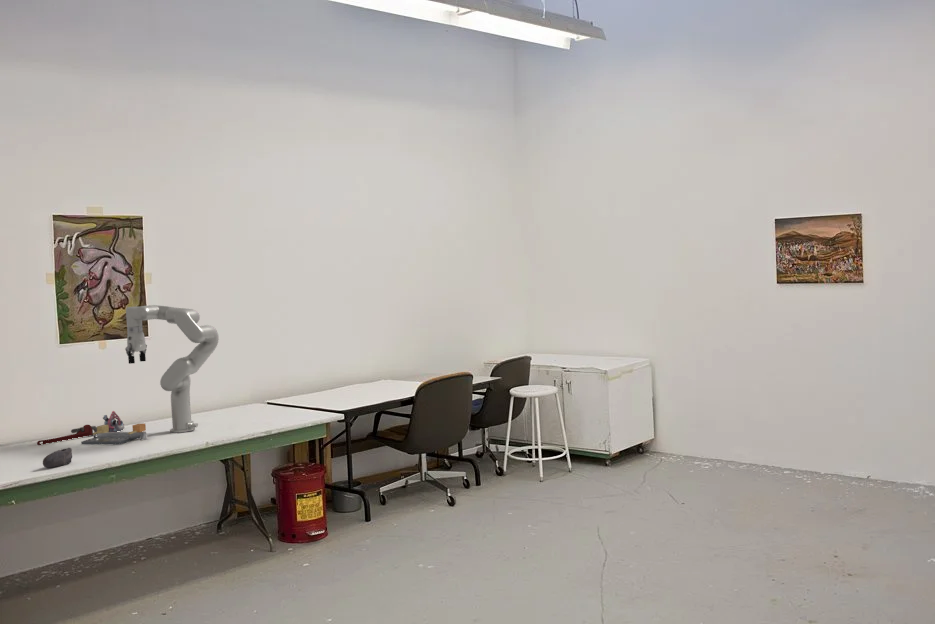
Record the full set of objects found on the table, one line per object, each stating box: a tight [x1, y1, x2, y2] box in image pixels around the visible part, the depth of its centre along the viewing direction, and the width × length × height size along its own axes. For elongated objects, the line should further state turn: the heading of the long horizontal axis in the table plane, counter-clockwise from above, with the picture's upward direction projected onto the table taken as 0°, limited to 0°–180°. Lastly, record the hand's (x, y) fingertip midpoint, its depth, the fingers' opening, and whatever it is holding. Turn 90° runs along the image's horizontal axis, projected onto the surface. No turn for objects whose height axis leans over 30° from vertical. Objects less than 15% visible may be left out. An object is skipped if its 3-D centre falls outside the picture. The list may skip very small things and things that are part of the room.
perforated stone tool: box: [42, 447, 73, 469], centre depth 379 cm, size 15×5×7 cm, turn 152°
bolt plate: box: [80, 424, 147, 445], centre depth 433 cm, size 27×16×7 cm, turn 76°
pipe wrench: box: [36, 424, 97, 446], centre depth 444 cm, size 7×2×30 cm
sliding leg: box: [128, 423, 147, 438], centre depth 432 cm, size 4×11×5 cm, turn 167°
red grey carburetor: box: [102, 410, 125, 432], centre depth 463 cm, size 11×11×12 cm
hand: (137, 362), depth 457 cm, fingers open, 9 cm apart
